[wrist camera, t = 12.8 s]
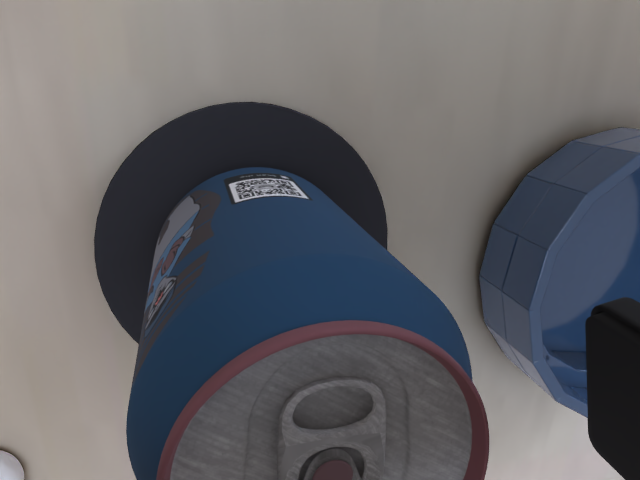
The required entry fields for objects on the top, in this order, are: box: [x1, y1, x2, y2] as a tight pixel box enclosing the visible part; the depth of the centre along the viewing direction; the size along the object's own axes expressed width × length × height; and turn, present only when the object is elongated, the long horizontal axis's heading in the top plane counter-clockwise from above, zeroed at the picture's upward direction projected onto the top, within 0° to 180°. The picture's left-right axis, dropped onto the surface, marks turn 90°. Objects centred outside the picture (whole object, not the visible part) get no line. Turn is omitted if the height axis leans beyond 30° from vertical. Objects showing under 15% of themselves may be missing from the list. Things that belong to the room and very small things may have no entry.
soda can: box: [126, 167, 489, 480], centre depth 14 cm, size 7×7×12 cm
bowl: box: [479, 127, 640, 418], centre depth 22 cm, size 12×12×4 cm
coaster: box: [94, 102, 387, 344], centre depth 20 cm, size 11×11×1 cm
